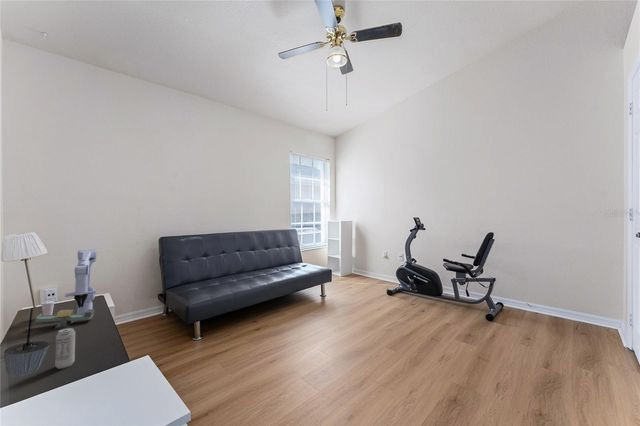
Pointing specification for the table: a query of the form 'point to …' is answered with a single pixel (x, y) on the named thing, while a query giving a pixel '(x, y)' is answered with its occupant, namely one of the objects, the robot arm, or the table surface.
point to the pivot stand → (64, 323)
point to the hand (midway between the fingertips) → (81, 307)
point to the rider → (64, 313)
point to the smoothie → (47, 307)
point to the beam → (47, 318)
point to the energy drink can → (65, 348)
